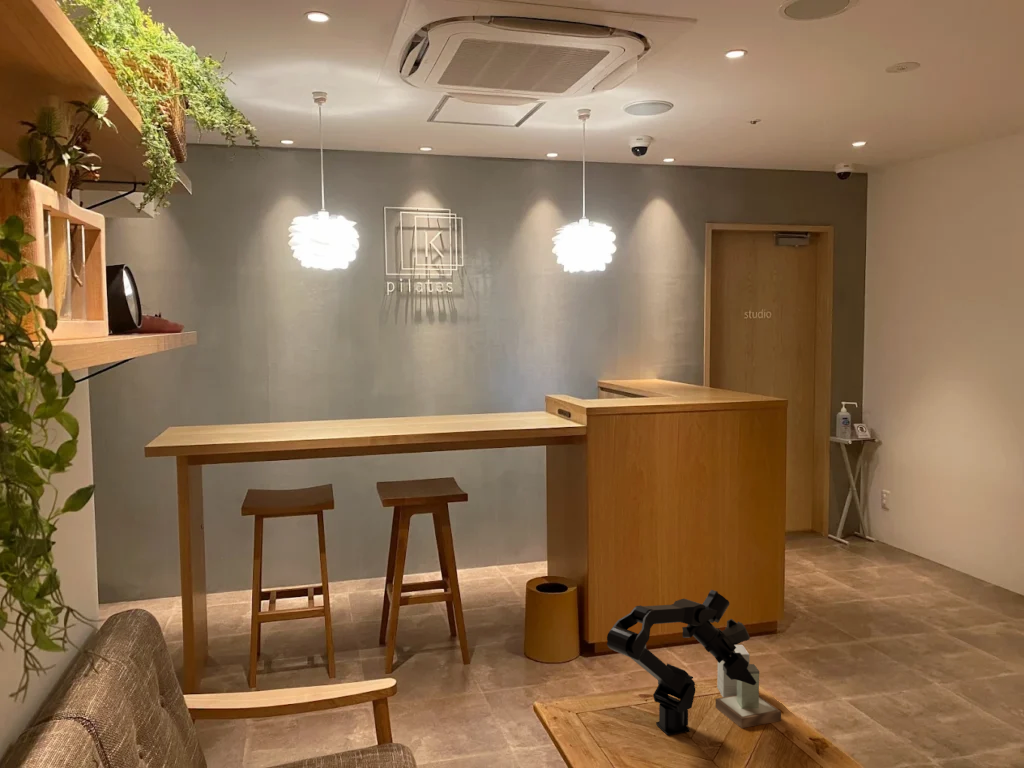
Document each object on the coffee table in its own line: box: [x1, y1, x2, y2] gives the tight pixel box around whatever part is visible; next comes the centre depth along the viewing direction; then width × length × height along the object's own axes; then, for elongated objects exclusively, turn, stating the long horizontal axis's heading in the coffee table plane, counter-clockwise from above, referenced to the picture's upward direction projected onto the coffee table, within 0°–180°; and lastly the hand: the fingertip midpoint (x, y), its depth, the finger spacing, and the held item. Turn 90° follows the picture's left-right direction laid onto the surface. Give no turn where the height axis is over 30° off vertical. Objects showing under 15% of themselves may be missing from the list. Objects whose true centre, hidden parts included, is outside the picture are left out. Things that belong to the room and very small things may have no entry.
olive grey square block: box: [737, 663, 760, 709], centre depth 218 cm, size 5×5×10 cm
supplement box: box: [716, 644, 751, 698], centre depth 230 cm, size 7×7×13 cm
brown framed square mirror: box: [715, 695, 782, 729], centre depth 218 cm, size 12×12×3 cm
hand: (749, 676), depth 218 cm, fingers open, 9 cm apart
